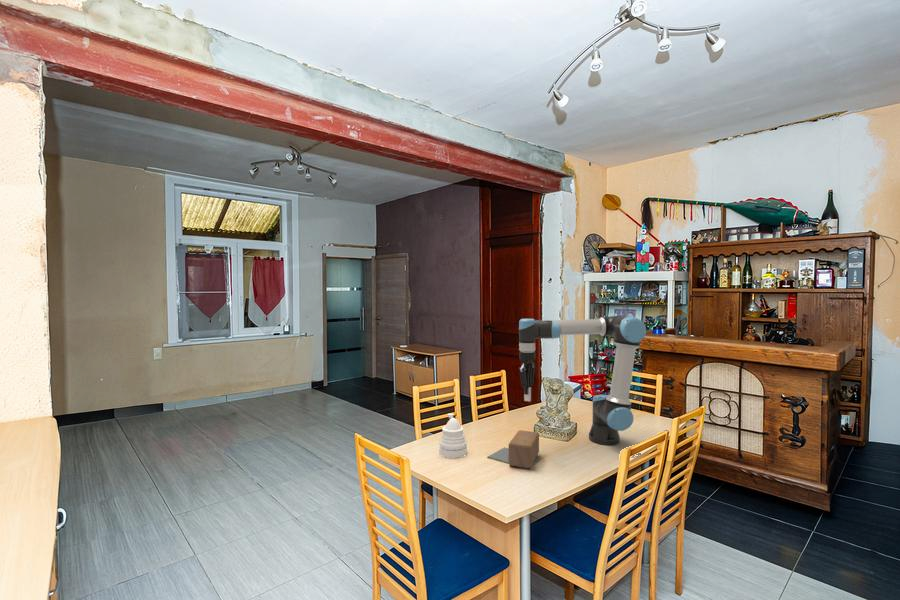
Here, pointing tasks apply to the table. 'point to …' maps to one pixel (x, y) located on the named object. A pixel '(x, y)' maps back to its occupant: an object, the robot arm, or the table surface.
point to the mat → (506, 456)
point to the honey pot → (453, 439)
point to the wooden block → (523, 449)
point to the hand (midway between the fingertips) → (527, 400)
